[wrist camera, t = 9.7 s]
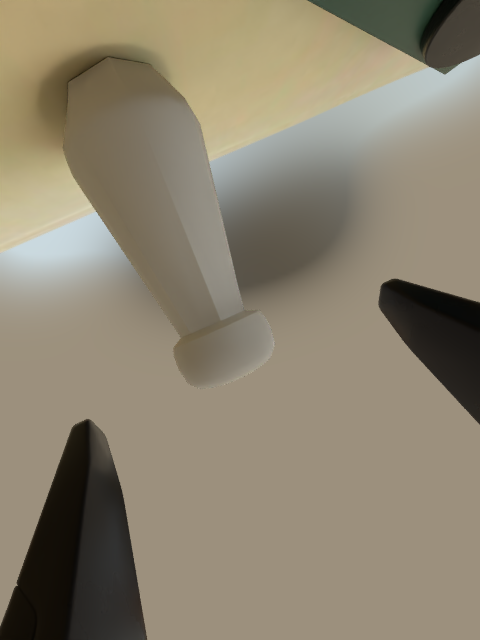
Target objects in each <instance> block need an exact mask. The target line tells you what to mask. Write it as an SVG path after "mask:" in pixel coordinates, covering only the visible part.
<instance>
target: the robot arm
mask: <svg viewBox="0 0 480 640" xmlns="http://www.w3.org/2000/svg"><path fill="white" fill-rule="evenodd" d="M379 308H380V309H381V311H382V313H383V314H384V315H385V317H386V318H387V319H388V321H389V322H390V323H391V325H392V326H393V327H394V329H395V330H396V331H397V333H398V334H399V336H400V337H401V338H402V340H403V341H404V342H405V344H406V345H407V346H408V347H409V348H410V350H411V351H412V352H413V353H414V354H415V355H416V356H417V357H418V358H419V359H420V360H421V362H422V363H423V364H424V365H425V366H426V367H427V368H428V369H429V370H430V371H431V372H432V373H433V375H434V376H435V377H436V378H437V379H438V380H439V381H440V382H441V383H442V384H443V385H444V386H445V387H446V389H447V390H448V391H449V392H450V393H451V394H452V395H453V396H454V397H455V398H456V399H457V401H458V402H459V403H460V404H461V405H462V406H463V407H464V408H465V409H466V410H467V411H468V412H469V413H470V415H471V416H472V417H473V418H474V419H475V420H476V421H477V422H478V423H479V424H480V303H479V302H476V301H472V300H469V299H466V298H462V297H458V296H455V295H452V294H448V293H444V292H441V291H437V290H434V289H431V288H427V287H424V286H420V285H417V284H413V283H409V282H406V281H402V280H399V279H391V280H389V281H387V282H385V283H383V284H382V285H381V289H380V296H379ZM17 585H18V586H16V587H15V588H14V591H13V594H12V597H11V599H10V602H9V605H8V608H7V610H6V613H5V616H4V618H3V621H2V623H1V626H0V640H147V636H146V630H145V624H144V618H143V612H142V606H141V601H140V594H139V588H138V582H137V576H136V570H135V564H134V558H133V552H132V546H131V540H130V534H129V528H128V522H127V516H126V510H125V504H124V498H123V494H122V489H121V486H120V482H119V479H118V475H117V472H116V468H115V465H114V462H113V458H112V455H111V452H110V448H109V445H108V442H107V439H106V436H105V434H104V433H103V432H102V431H101V430H100V429H99V428H98V427H97V426H96V425H95V424H94V422H92V421H91V420H90V419H86V420H84V421H82V422H79V423H77V424H75V425H74V426H73V427H72V429H71V432H70V435H69V437H68V440H67V443H66V446H65V449H64V452H63V454H62V457H61V460H60V463H59V465H58V468H57V471H56V474H55V477H54V479H53V482H52V485H51V488H50V491H49V493H48V497H47V499H46V502H45V505H44V507H43V510H42V513H41V516H40V519H39V522H38V524H37V527H36V530H35V533H34V535H33V538H32V541H31V544H30V547H29V549H28V552H27V555H26V558H25V560H24V563H23V566H22V569H21V572H20V574H19V577H18V580H17Z"/></svg>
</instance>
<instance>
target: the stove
mask: <svg viewBox="0 0 480 640" xmlns="http://www.w3.org/2000/svg"><path fill="white" fill-rule="evenodd" d="M308 1H310V2H311V3H313V4H315V5H317V6H319V7H321V8H323V9H324V10H326V11H328V12H330V13H332V14H334V15H336V16H337V17H339V18H341V19H343V20H345V21H347V22H348V23H350V24H352V25H354V26H356V27H358V28H360V29H361V30H363V31H365V32H367V33H369V34H371V35H373V36H374V37H376V38H378V39H380V40H382V41H384V42H386V43H387V44H389V45H391V46H393V47H395V48H397V49H398V50H400V51H402V52H404V53H406V54H408V55H410V56H411V57H413V58H415V59H417V60H419V61H421V62H423V63H424V64H426V63H425V60H424V58H423V56H422V53H421V40H422V36H423V34H424V32H425V29H426V27H427V25H428V24H429V22H430V20H431V18H432V17H433V15H434V14H435V12H436V11H437V9H438V8H439V6H440V5H441V3H442V2H443V1H444V0H308ZM461 63H462V62H461ZM459 64H460V63H459ZM459 64H456V65H453V66H449V67H445V68H434V69H436V70H437V71H439V72H441V73H443V74H446V73H448V72H449V71H451V70H452V69H453V68H455V67H456V66H457V65H459ZM426 65H427V64H426Z"/></svg>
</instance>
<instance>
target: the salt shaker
mask: <svg viewBox="0 0 480 640" xmlns="http://www.w3.org/2000/svg"><path fill="white" fill-rule="evenodd" d="M63 150H64V153H65V157H66V161H67V163H68V166H69V168H70V170H71V173H72V175H73V177H74V179H75V180H76V182H77V183H78V185H79V186H80V188H81V189H82V191H83V192H84V194H85V195H86V197H87V198H88V200H89V201H90V203H91V204H92V206H93V207H94V209H95V210H96V212H97V213H98V215H99V216H100V218H101V219H102V221H103V222H104V224H105V225H106V227H107V228H108V230H109V231H110V232H111V234H112V236H113V237H114V239H115V240H116V242H117V243H118V244H119V246H120V247H121V249H122V250H123V252H124V253H125V255H126V256H127V258H128V259H129V261H130V262H131V264H132V265H133V267H134V268H135V270H136V271H137V273H138V274H139V276H140V277H141V279H142V280H143V282H144V283H145V285H146V286H147V288H148V289H149V291H150V292H151V294H152V295H153V297H154V298H155V300H156V301H157V303H158V304H159V306H160V307H161V309H162V310H163V311H164V313H165V315H166V316H167V318H168V319H169V320H170V322H171V323H172V325H173V326H174V328H175V329H176V331H177V332H178V334H179V335H180V337H181V339H180V340H179V341H178V343H177V344H176V345H175V346H174V348H173V352H174V358H175V360H176V363H177V366H178V368H179V371H180V372H181V374H182V375H183V377H184V378H185V380H186V381H187V383H189V384H190V385H192V386H194V387H197V388H199V389H206V388H213V387H218V386H221V385H224V384H227V383H230V382H233V381H235V380H237V379H239V378H241V377H244V376H246V375H247V374H249V373H251V372H253V371H255V370H256V369H257V368H259V367H260V366H261V365H263V364H264V363H265V362H266V361H267V360H269V359H270V357H271V354H272V351H273V348H274V345H275V342H274V339H273V334H272V330H271V328H270V326H269V324H268V322H267V320H266V318H265V316H264V315H263V314H262V313H261V312H260V311H259V310H244V307H243V304H242V300H241V296H240V292H239V288H238V284H237V281H236V276H235V272H234V268H233V263H232V259H231V255H230V250H229V246H228V242H227V238H226V233H225V229H224V224H223V220H222V216H221V212H220V208H219V203H218V199H217V194H216V190H215V186H214V182H213V177H212V173H211V168H210V164H209V160H208V155H207V151H206V147H205V143H204V138H203V134H202V130H201V125H200V123H199V121H198V120H197V118H196V116H195V114H194V113H193V111H192V109H191V108H190V106H189V105H188V103H187V101H186V100H185V98H184V97H183V96H182V95H181V94H180V93H179V92H178V91H177V90H176V89H175V88H174V87H173V86H172V85H171V84H170V83H169V82H168V81H167V80H166V79H165V78H164V77H163V76H161V75H160V74H159V73H158V72H157V71H156V70H155V69H154V68H153V67H152V66H151V65H150V64H145V63H140V62H134V61H128V60H122V59H116V58H110V57H107V58H106V59H104V60H103V61H101V62H99V63H98V64H96V65H95V66H93V67H92V68H90V69H88V70H87V71H85V72H84V73H82V74H81V75H79V76H78V77H76V78H74V79H73V80H71V81H70V82H68V104H67V114H66V123H65V133H64V143H63Z"/></svg>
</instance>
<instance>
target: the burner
mask: <svg viewBox="0 0 480 640" xmlns="http://www.w3.org/2000/svg"><path fill="white" fill-rule="evenodd" d="M421 53H422V56H423V58H424V60H425V63H426V64H427V65H428V66H429V67H432V68H445V67H449V66H453V65H456V64H459V63H461V62H464V61H466V60H469V59H471V58H473V57H475V56H477V55H479V54H480V0H444V1H443V2H442V3H441V5H440V6H439V8H438V9H437V11H436V12H435V14H434V15H433V17H432V18H431V20H430V22H429V24H428V25H427V27H426V29H425V32H424V34H423V36H422V40H421Z"/></svg>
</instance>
